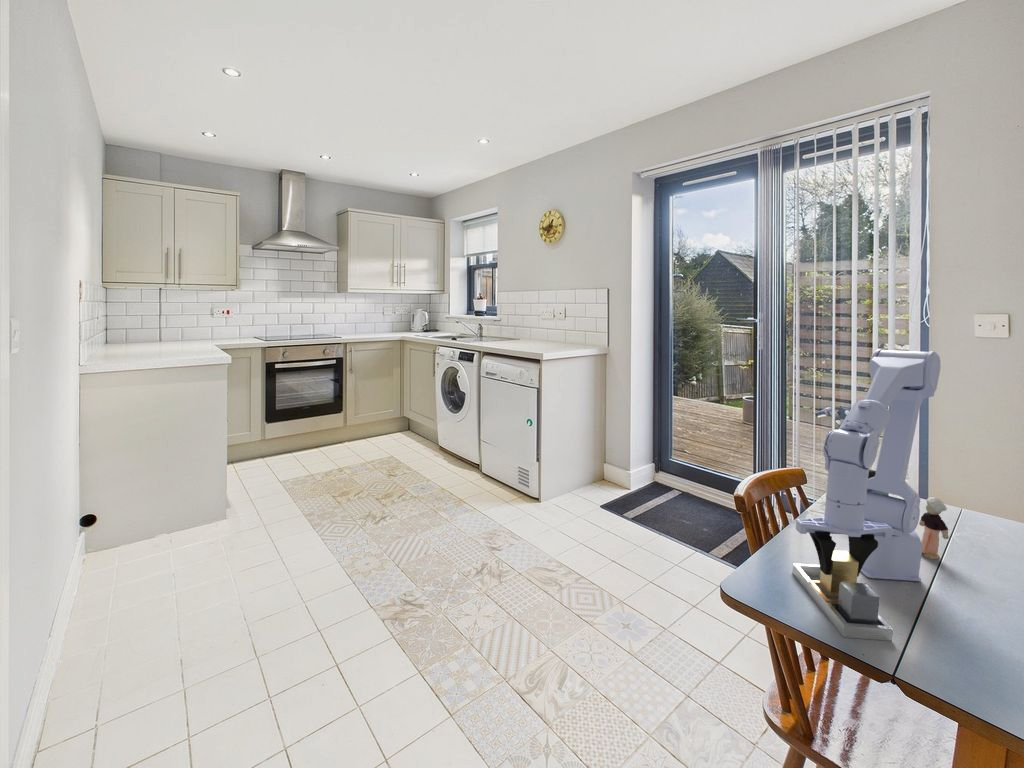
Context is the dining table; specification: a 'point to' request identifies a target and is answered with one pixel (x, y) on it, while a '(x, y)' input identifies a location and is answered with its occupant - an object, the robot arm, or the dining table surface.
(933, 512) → the grandmother figurine
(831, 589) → the golden block
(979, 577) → the dining table surface
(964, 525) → the dining table surface
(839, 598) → the gunmetal nut block
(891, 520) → the robot arm
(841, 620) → the zinc tray
